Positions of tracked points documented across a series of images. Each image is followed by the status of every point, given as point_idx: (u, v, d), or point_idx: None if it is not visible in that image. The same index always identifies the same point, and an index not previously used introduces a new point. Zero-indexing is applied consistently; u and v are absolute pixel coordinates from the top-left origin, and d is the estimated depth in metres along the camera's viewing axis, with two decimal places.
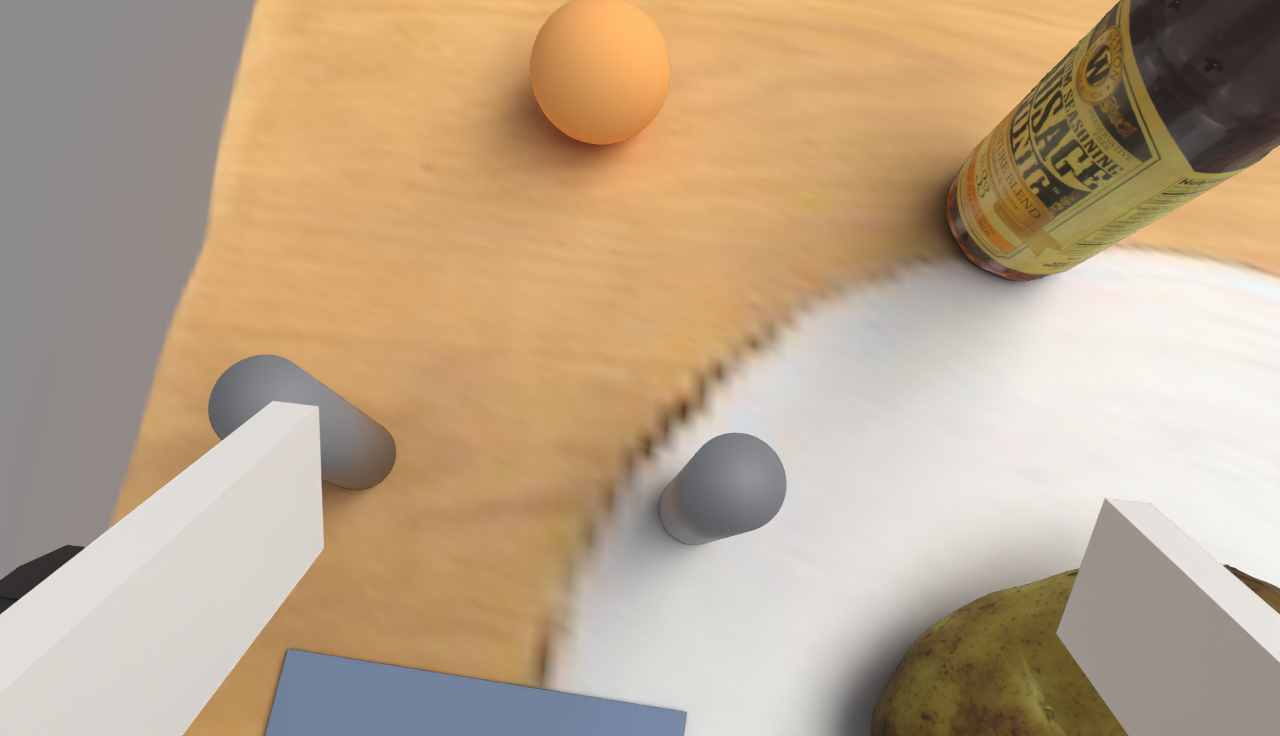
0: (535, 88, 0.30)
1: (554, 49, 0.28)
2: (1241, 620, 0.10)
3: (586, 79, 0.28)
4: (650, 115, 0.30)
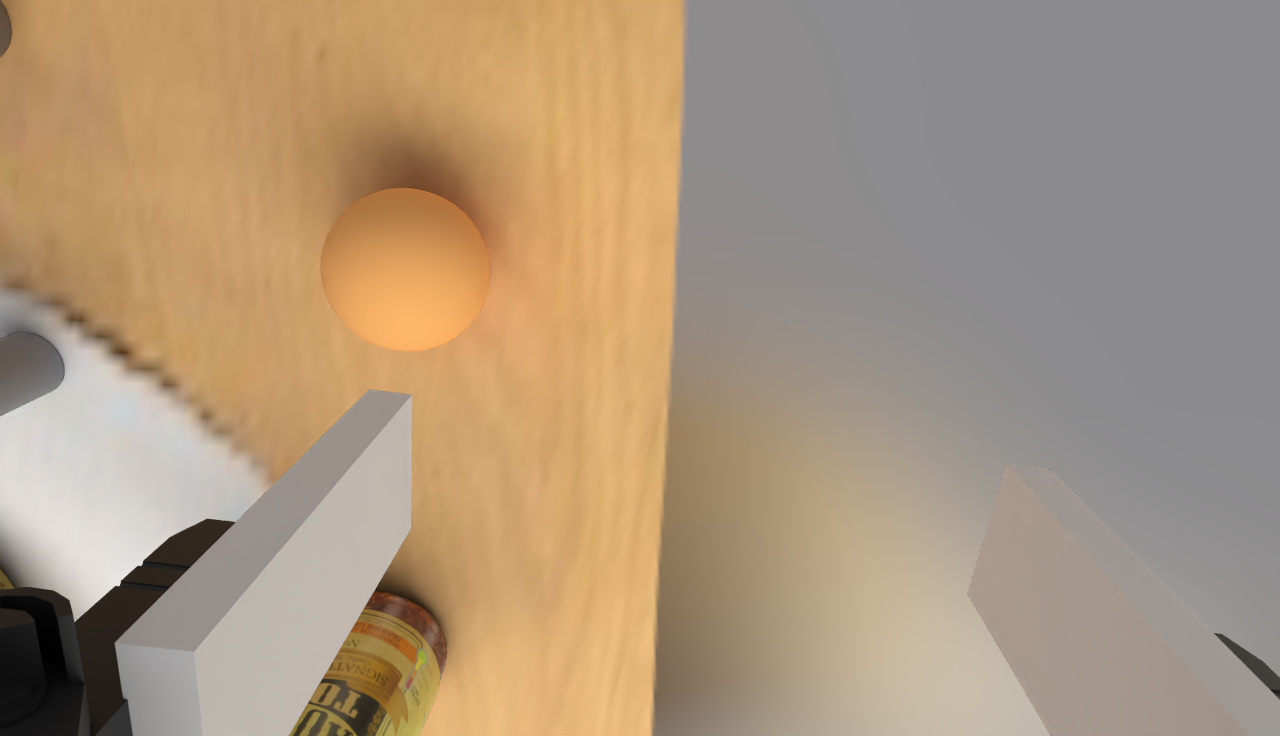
0: (360, 199, 0.25)
1: (358, 232, 0.24)
2: (1106, 567, 0.11)
3: (329, 271, 0.24)
4: None
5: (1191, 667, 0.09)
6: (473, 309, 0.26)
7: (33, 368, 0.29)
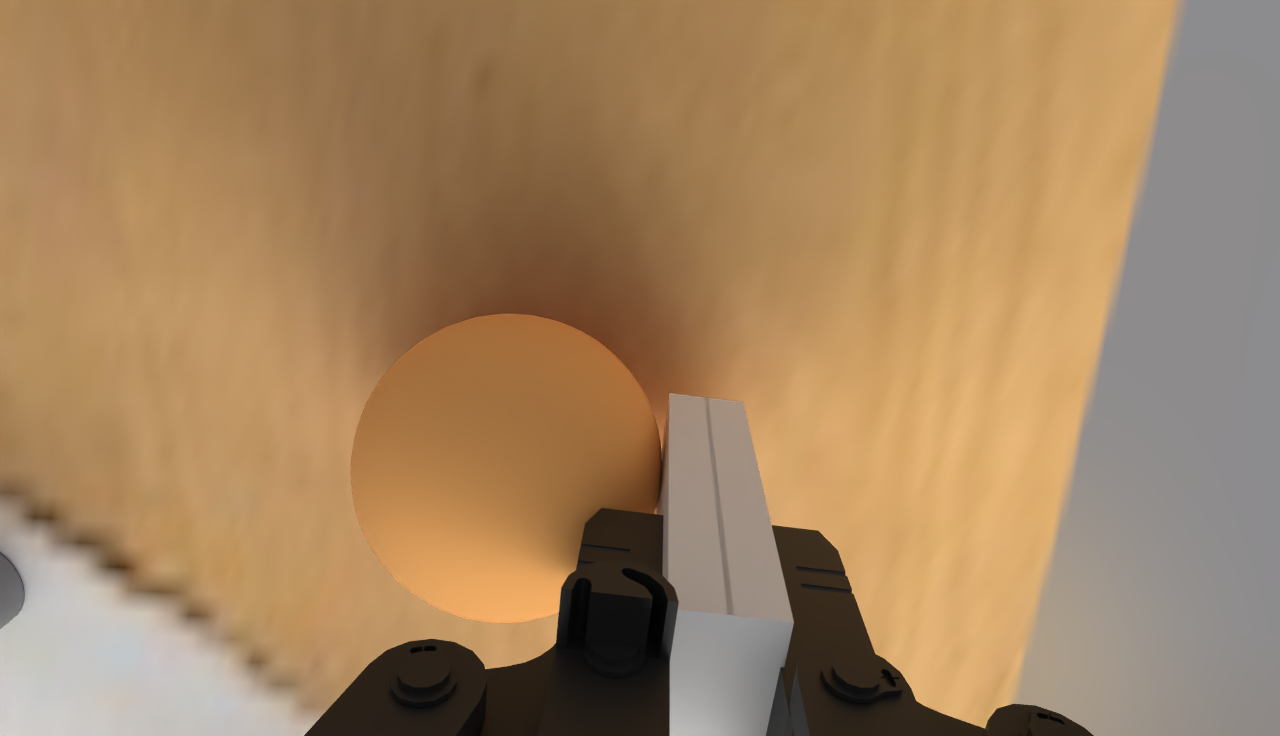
0: (444, 328, 0.14)
1: (386, 399, 0.12)
2: (719, 472, 0.12)
3: None
4: None
5: (723, 541, 0.10)
6: None
7: None
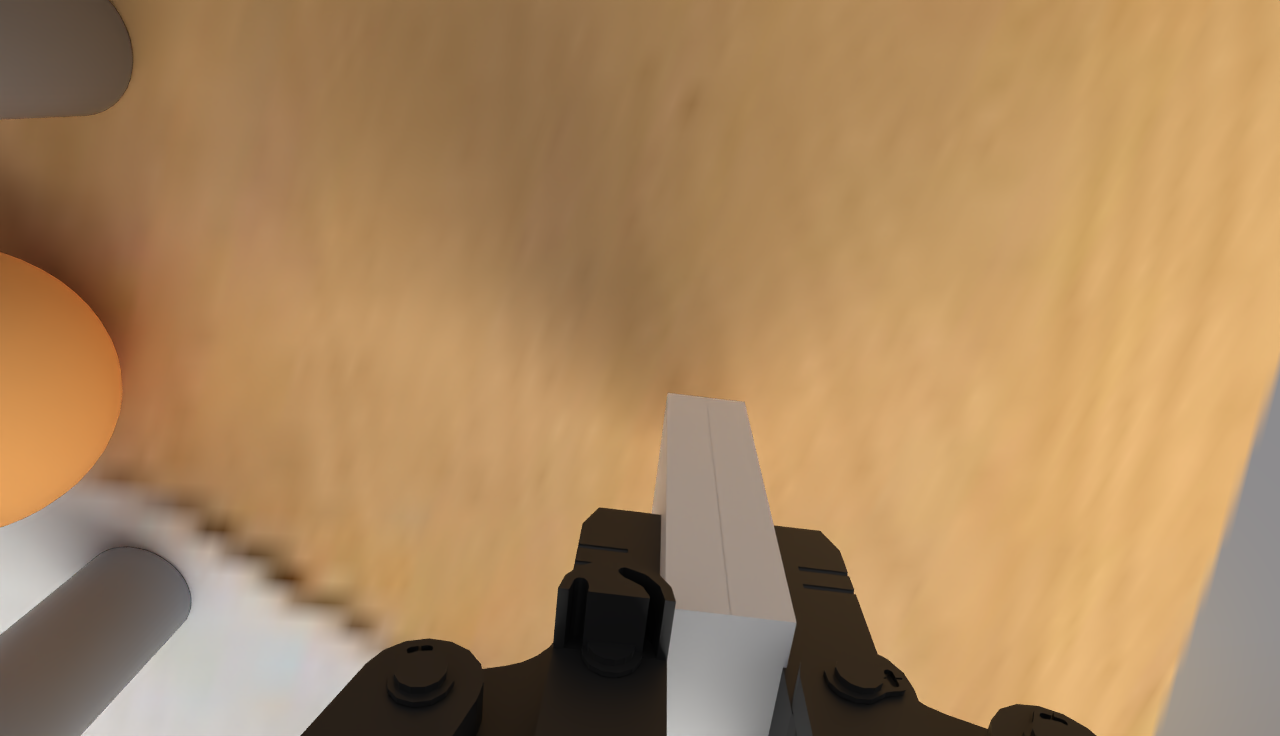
0: None
1: None
2: (721, 473, 0.12)
3: None
4: None
5: (725, 542, 0.10)
6: (107, 434, 0.15)
7: (149, 620, 0.18)
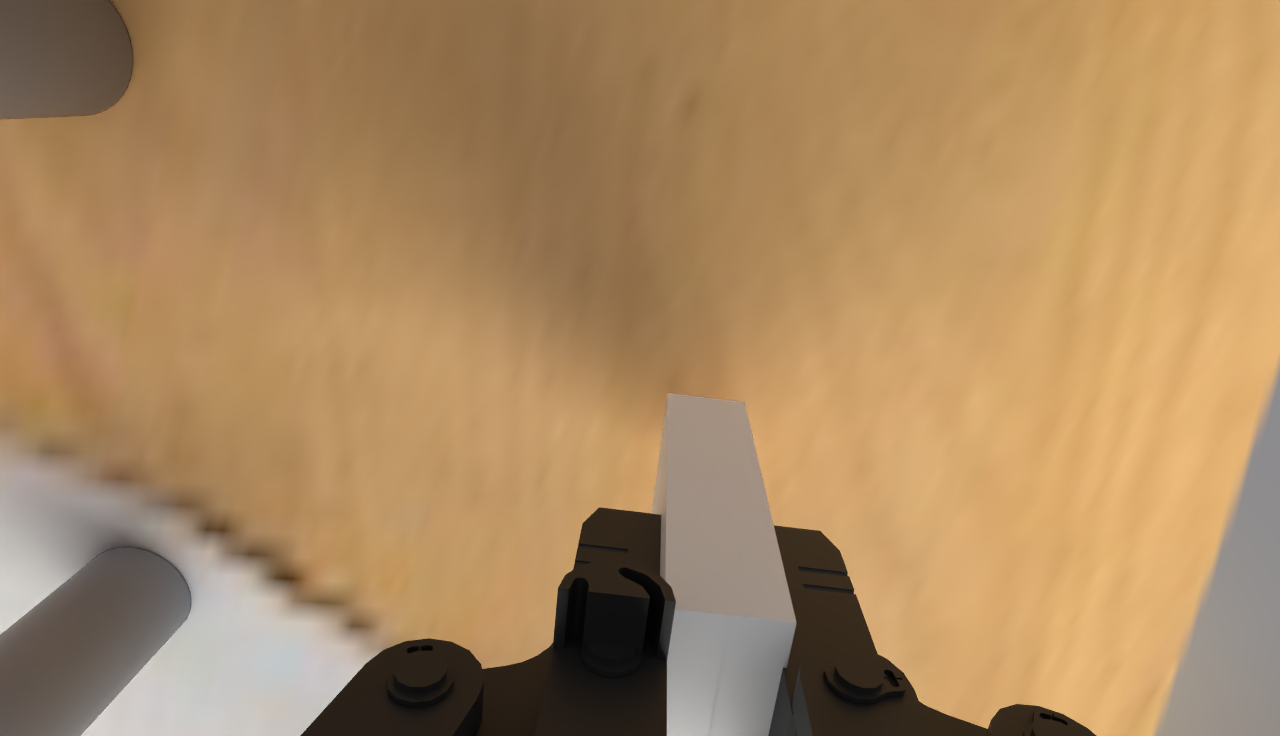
0: None
1: None
2: (721, 473, 0.12)
3: None
4: None
5: (725, 542, 0.10)
6: None
7: (149, 620, 0.18)
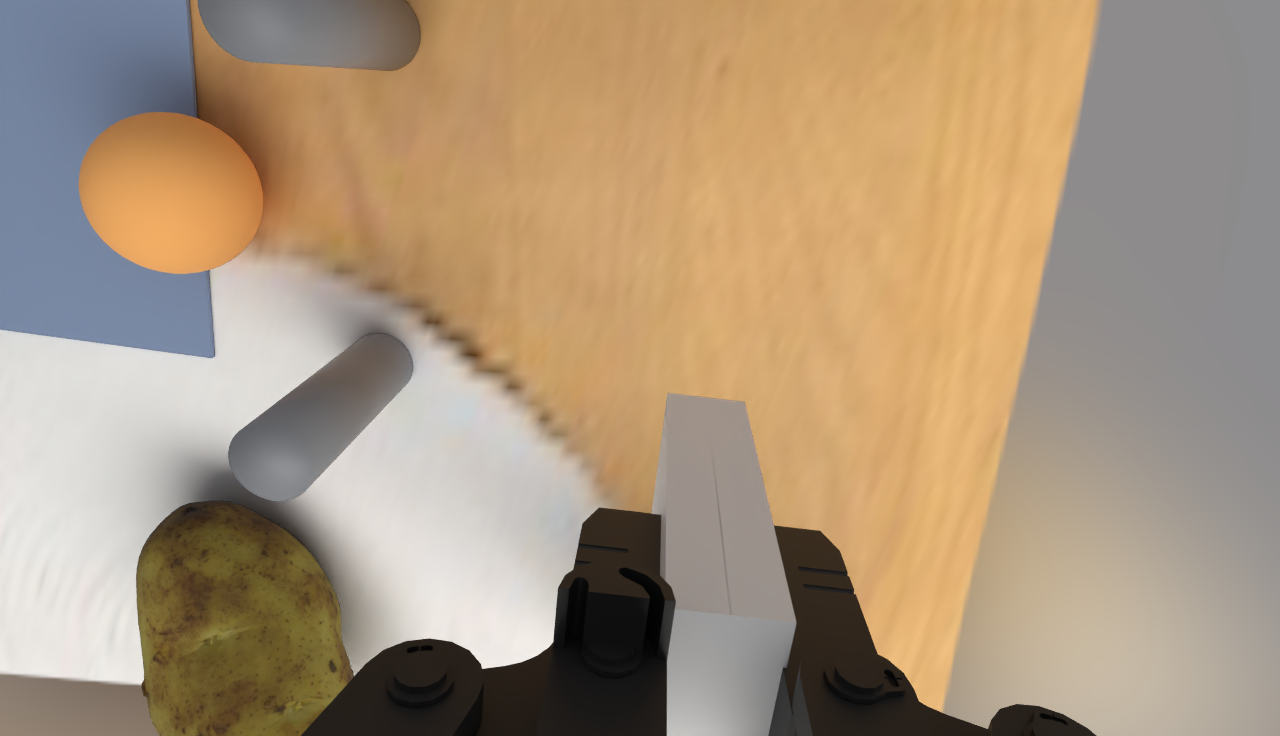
0: None
1: None
2: (721, 472, 0.12)
3: None
4: None
5: (725, 542, 0.10)
6: (120, 230, 0.25)
7: (399, 369, 0.30)
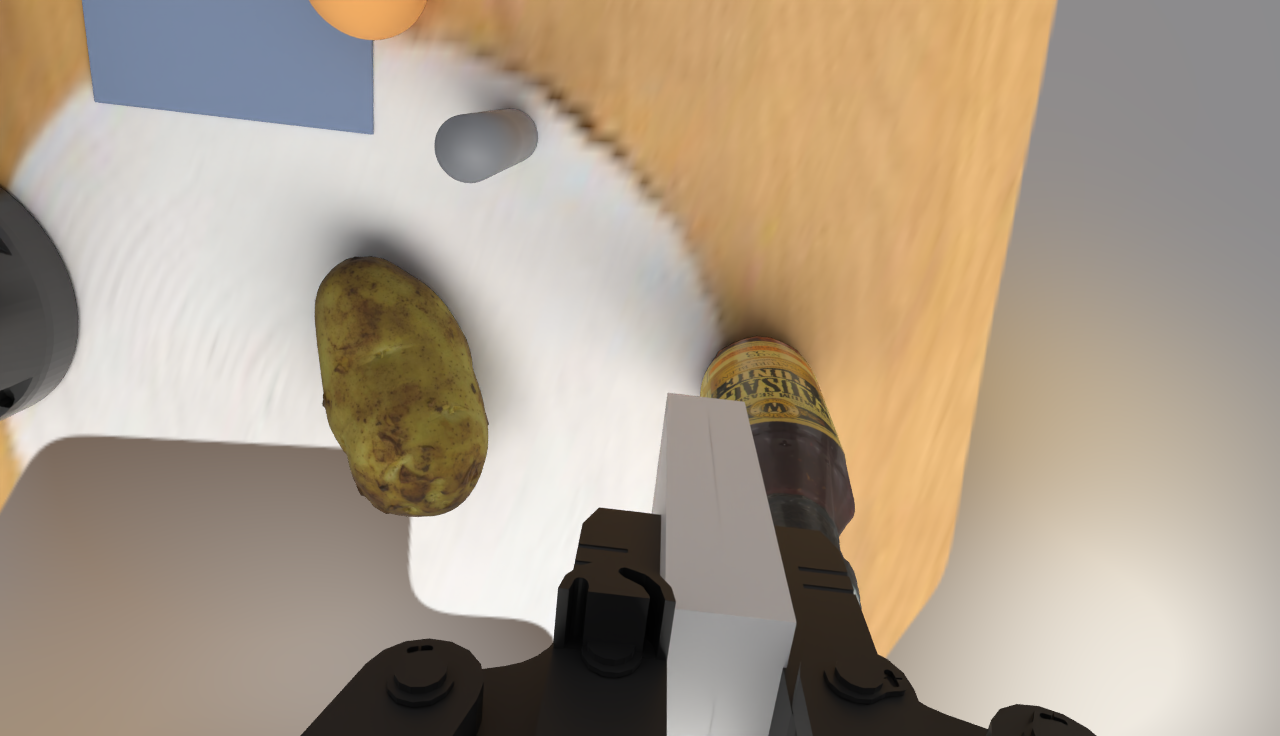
0: None
1: None
2: (721, 473, 0.12)
3: None
4: None
5: (725, 542, 0.10)
6: None
7: (532, 131, 0.37)
